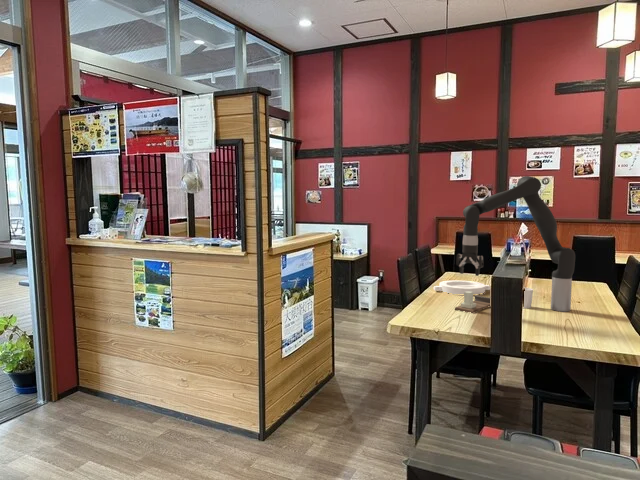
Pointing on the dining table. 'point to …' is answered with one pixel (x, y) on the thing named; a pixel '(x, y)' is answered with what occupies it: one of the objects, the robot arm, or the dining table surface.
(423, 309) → the dining table surface
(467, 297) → the block
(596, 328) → the dining table surface
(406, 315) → the dining table surface
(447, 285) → the ring with crossbar
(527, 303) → the white cup
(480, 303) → the rail
